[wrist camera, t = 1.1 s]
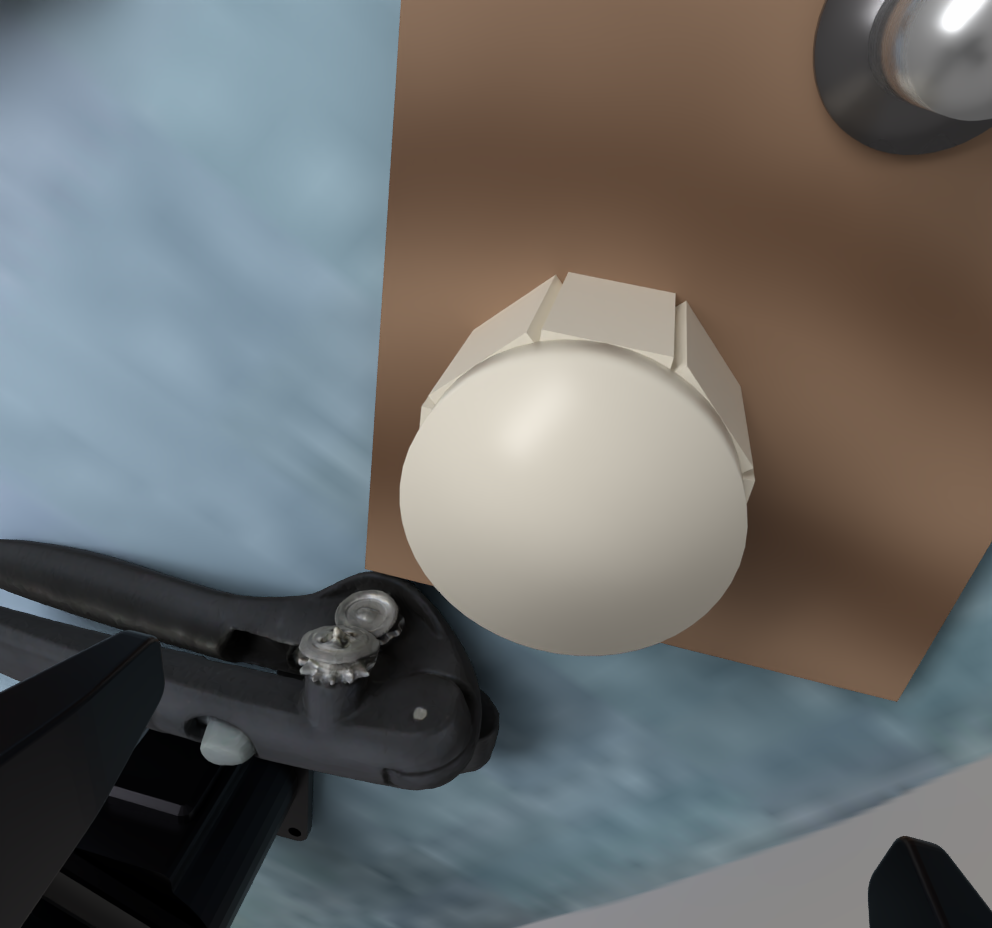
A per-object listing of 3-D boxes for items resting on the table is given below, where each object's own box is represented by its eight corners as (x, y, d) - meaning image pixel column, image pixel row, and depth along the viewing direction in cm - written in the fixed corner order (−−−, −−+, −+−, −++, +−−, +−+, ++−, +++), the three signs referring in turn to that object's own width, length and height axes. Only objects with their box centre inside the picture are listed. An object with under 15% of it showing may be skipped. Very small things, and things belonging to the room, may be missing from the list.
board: (886, 667, 20) (897, 701, 19) (380, 543, 22) (365, 568, 21) (1500, -428, 10) (1592, -480, 9) (459, -519, 12) (437, -573, 10)
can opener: (527, 569, 21) (482, 724, 17) (503, 738, 25) (460, 906, 20) (-34, 454, 24) (-214, 561, 19) (17, 623, 27) (-125, 749, 23)
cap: (690, 550, 18) (691, 689, 15) (447, 493, 19) (388, 611, 15) (770, 312, 15) (800, 408, 11) (478, 254, 16) (413, 326, 12)
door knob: (971, 159, 14) (1066, 203, 11) (776, 125, 15) (805, 157, 11) (1071, -74, 12) (1227, -114, 9) (845, -105, 13) (908, -156, 9)
